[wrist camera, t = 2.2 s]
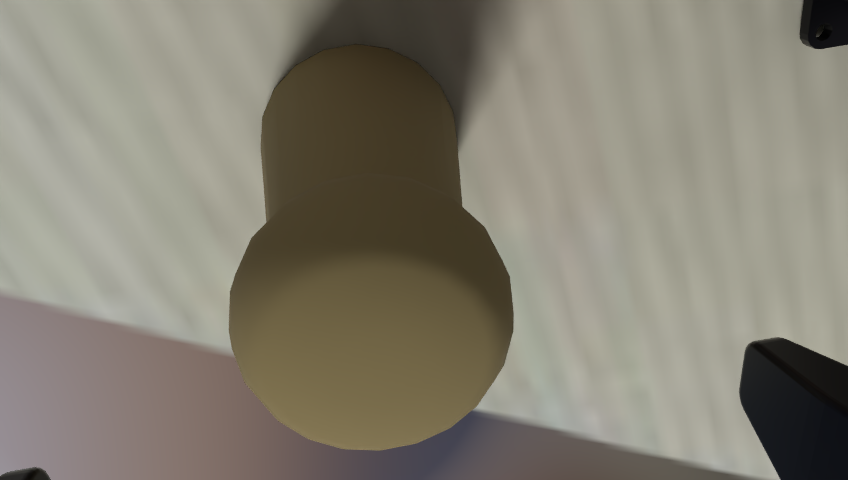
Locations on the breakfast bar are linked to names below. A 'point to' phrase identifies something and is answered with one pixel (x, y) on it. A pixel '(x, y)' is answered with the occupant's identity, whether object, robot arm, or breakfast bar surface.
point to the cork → (367, 260)
